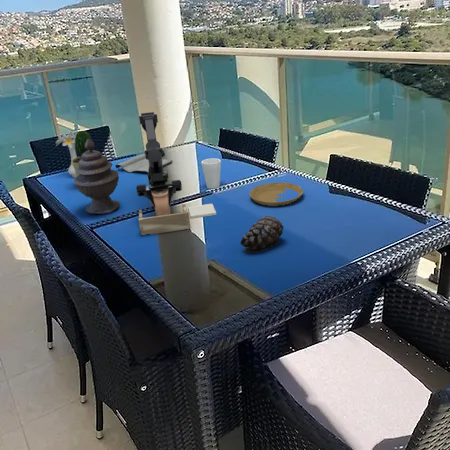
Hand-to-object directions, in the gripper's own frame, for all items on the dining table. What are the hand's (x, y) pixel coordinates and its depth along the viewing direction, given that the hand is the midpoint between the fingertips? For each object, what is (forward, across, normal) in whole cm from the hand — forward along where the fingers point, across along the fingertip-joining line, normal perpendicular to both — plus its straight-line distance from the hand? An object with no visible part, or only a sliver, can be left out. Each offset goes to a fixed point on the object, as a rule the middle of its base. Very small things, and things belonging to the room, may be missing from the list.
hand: (162, 206), depth 200 cm
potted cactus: (-39, -34, +50) cm, 72 cm away
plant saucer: (-2, +52, +13) cm, 53 cm away
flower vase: (-54, -44, +66) cm, 96 cm away
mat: (-54, -6, +66) cm, 85 cm away
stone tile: (+1, +17, +10) cm, 19 cm away
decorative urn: (-12, -27, +23) cm, 38 cm away
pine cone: (+29, +34, -18) cm, 49 cm away
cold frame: (+6, 0, +5) cm, 7 cm away
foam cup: (-20, +27, +31) cm, 46 cm away
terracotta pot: (+4, 0, +6) cm, 7 cm away
